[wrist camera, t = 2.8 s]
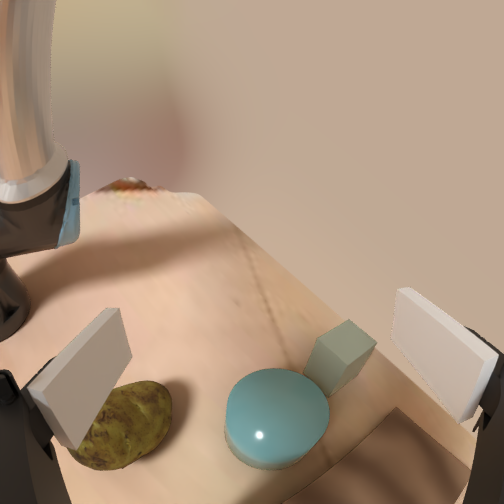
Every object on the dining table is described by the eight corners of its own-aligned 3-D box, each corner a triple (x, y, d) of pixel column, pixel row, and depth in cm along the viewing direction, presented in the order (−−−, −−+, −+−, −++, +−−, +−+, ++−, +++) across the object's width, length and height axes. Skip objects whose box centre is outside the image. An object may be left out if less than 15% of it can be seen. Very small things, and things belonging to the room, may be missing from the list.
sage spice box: (328, 397, 32) (347, 365, 28) (303, 372, 35) (317, 337, 32) (357, 375, 35) (377, 342, 32) (333, 353, 39) (348, 319, 35)
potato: (201, 441, 25) (198, 410, 21) (101, 489, 18) (69, 469, 13) (161, 389, 30) (152, 348, 26) (70, 428, 23) (40, 392, 18)
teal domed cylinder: (259, 486, 21) (268, 473, 18) (207, 418, 28) (207, 393, 25) (329, 438, 27) (349, 416, 24) (277, 383, 34) (287, 355, 30)
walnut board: (364, 595, 8) (371, 596, 7) (268, 511, 19) (271, 509, 18) (465, 476, 19) (472, 471, 18) (390, 412, 30) (396, 406, 29)
